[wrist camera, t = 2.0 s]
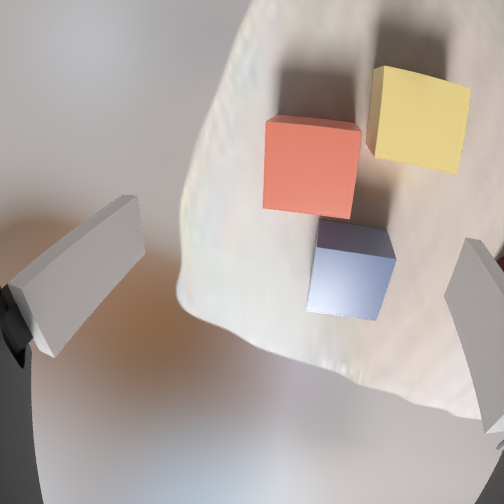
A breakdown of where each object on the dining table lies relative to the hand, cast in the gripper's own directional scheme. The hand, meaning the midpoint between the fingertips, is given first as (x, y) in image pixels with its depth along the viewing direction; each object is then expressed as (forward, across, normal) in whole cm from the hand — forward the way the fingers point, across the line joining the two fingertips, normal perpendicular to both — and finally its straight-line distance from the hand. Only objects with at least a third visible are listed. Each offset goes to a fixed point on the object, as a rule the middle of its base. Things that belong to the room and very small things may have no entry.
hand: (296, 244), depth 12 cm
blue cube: (+15, +4, -8) cm, 17 cm away
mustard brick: (+15, +7, +5) cm, 17 cm away
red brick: (+15, 0, 0) cm, 15 cm away
